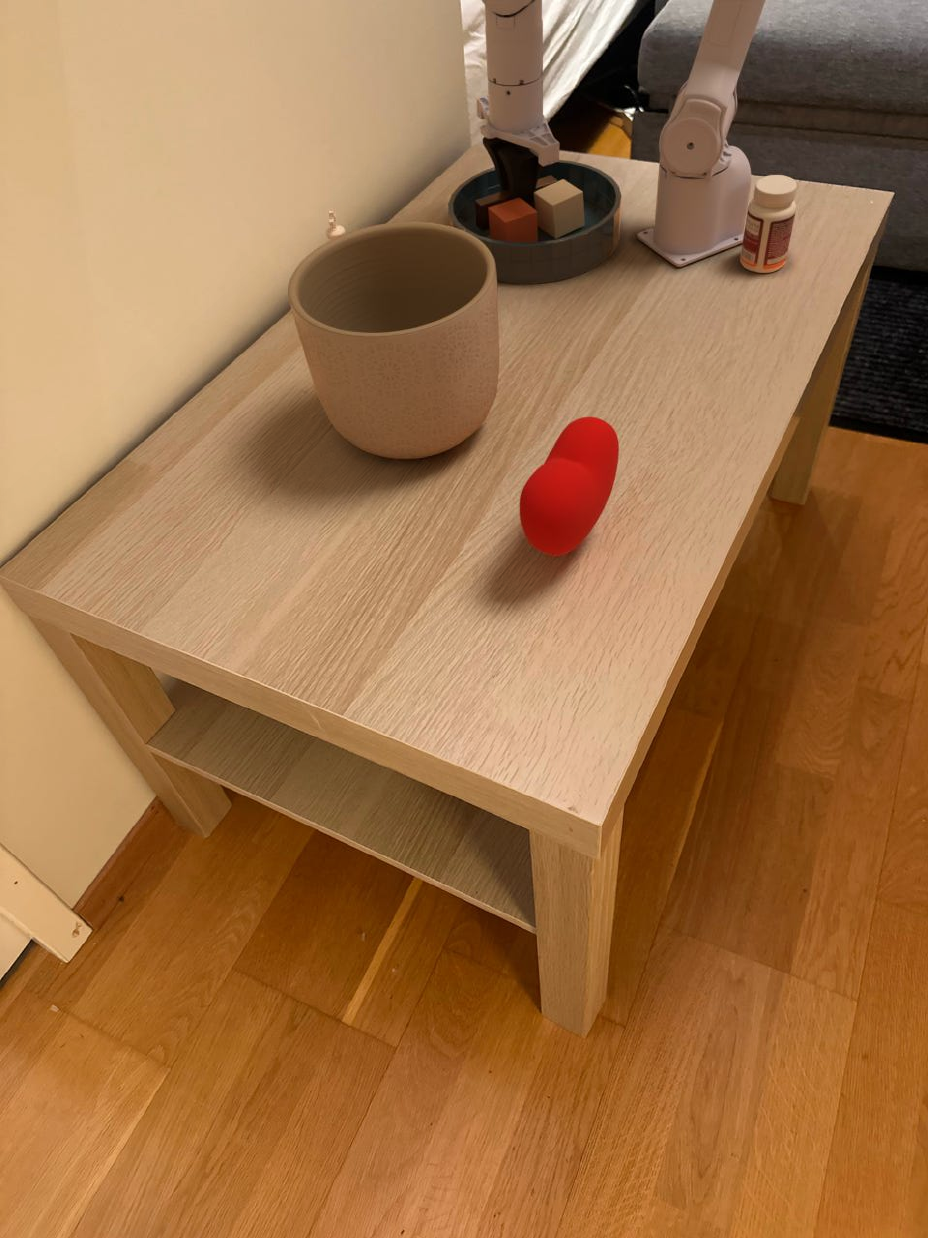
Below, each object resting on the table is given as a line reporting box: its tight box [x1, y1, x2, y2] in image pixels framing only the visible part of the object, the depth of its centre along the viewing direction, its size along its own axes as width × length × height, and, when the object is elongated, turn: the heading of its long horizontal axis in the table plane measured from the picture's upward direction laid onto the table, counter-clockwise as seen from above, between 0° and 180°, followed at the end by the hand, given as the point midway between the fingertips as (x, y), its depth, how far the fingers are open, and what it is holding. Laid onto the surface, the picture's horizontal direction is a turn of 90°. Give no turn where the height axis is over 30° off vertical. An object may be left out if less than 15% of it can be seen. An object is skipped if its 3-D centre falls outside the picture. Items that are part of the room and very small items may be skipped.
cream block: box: [534, 179, 585, 239], centre depth 101 cm, size 4×4×4 cm
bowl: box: [447, 159, 623, 285], centre depth 101 cm, size 19×19×4 cm
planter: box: [287, 221, 500, 460], centre depth 78 cm, size 17×17×15 cm
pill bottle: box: [739, 174, 798, 274], centre depth 93 cm, size 5×5×8 cm
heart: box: [519, 416, 620, 557], centre depth 69 cm, size 12×5×10 cm, turn 151°
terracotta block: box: [488, 198, 538, 243], centre depth 100 cm, size 4×4×4 cm
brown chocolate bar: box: [475, 175, 558, 231], centre depth 102 cm, size 10×2×3 cm, turn 118°
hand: (518, 203), depth 103 cm, fingers closed on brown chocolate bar, 2 cm apart
